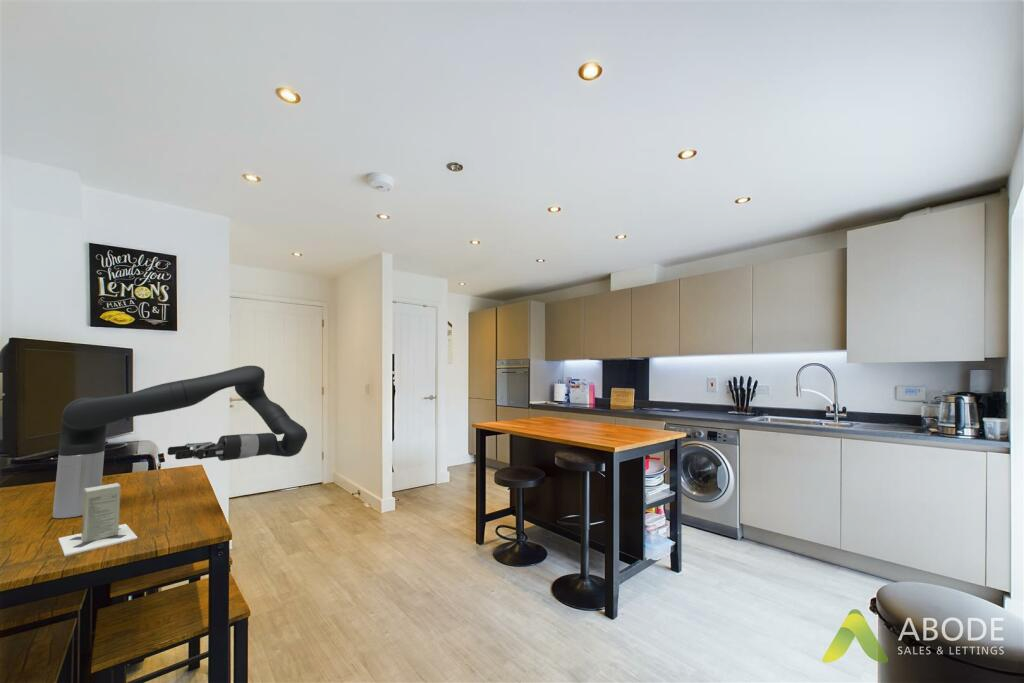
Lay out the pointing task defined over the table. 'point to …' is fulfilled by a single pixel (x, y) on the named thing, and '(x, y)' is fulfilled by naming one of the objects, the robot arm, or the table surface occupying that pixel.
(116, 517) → the skincare box
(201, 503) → the table surface
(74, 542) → the letter card
